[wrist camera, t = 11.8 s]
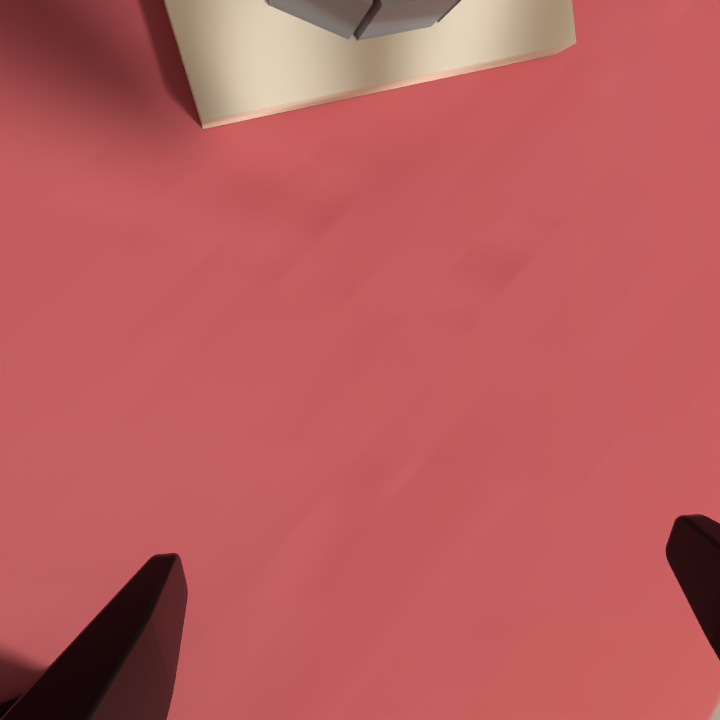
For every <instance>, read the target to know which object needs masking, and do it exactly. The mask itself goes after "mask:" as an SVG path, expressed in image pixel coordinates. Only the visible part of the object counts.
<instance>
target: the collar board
mask: <svg viewBox="0 0 720 720" xmlns="http://www.w3.org/2000/svg"><path fill="white" fill-rule="evenodd" d="M163 1H164V4H165V7H166V11H167V14H168V17H169V20H170V24H171V27H172V30H173V33H174V37H175V40H176V43H177V46H178V50H179V53H180V56H181V59H182V63H183V66H184V69H185V72H186V76H187V79H188V82H189V85H190V89H191V92H192V95H193V98H194V102H195V105H196V108H197V111H198V115H199V118H200V121H201V124H202V128H203V129H205V128H210V127H215V126H220V125H224V124H229V123H234V122H238V121H243V120H248V119H253V118H257V117H262V116H267V115H272V114H276V113H281V112H286V111H290V110H295V109H300V108H305V107H309V106H314V105H319V104H323V103H328V102H333V101H338V100H342V99H347V98H352V97H357V96H361V95H366V94H371V93H375V92H380V91H385V90H390V89H394V88H399V87H404V86H408V85H413V84H418V83H423V82H427V81H432V80H437V79H442V78H446V77H451V76H456V75H460V74H465V73H470V72H475V71H479V70H484V69H489V68H493V67H498V66H503V65H508V64H512V63H517V62H522V61H526V60H531V59H536V58H541V57H545V56H550V55H555V54H556V53H558V52H560V51H562V50H564V49H566V48H568V47H569V46H571V45H573V44H575V43H576V36H575V26H574V16H573V6H572V0H163Z"/></svg>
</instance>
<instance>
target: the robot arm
mask: <svg viewBox="0 0 720 720" xmlns="http://www.w3.org/2000/svg"><path fill="white" fill-rule="evenodd" d="M666 557H667V560H668V562H669V565H670V567H671V569H672V570H673V572H674V574H675V576H676V578H677V580H678V582H679V584H680V586H681V588H682V590H683V592H684V594H685V596H686V598H687V600H688V602H689V604H690V606H691V608H692V610H693V612H694V614H695V616H696V618H697V620H698V622H699V624H700V626H701V628H702V630H703V632H704V634H705V636H706V637H707V639H708V641H709V643H710V645H711V646H712V648H713V650H714V651H715V653H716V655H717V657H718V658H719V660H720V524H719V523H718V522H716V521H714V520H712V519H710V518H708V517H706V516H704V515H700V514H694V515H681V516H679V517H678V518H676V520H675V522H674V524H673V527H672V530H671V533H670V536H669V539H668V542H667V545H666ZM187 595H188V590H187V583H186V579H185V575H184V571H183V567H182V563H181V559H180V557H179V555H178V554H176V553H169V554H157V555H154V556H152V557H151V558H150V559H149V560H148V561H147V562H146V563H145V564H144V565H143V566H142V568H141V569H140V570H139V571H138V572H137V573H136V574H135V575H134V576H133V577H132V578H131V579H130V580H129V581H128V583H127V584H126V585H125V586H124V587H123V588H122V589H121V590H120V591H119V592H118V593H117V594H116V595H115V596H114V598H113V599H112V600H111V601H110V602H109V603H108V604H107V605H106V606H105V607H104V608H103V609H102V610H101V612H100V613H99V614H98V615H97V616H96V617H95V618H94V619H93V620H92V621H91V622H90V623H89V624H88V625H87V627H86V628H85V629H84V630H83V631H82V632H81V633H80V634H79V635H78V636H77V637H76V638H75V639H74V641H73V642H72V643H71V644H70V645H69V646H68V647H67V648H66V649H65V650H64V651H63V652H62V653H61V654H60V656H59V657H58V658H57V659H56V660H55V661H54V662H53V663H52V664H51V665H50V666H49V667H48V668H47V670H46V671H45V672H44V673H43V674H42V675H41V676H40V677H39V678H38V679H37V680H36V681H35V682H34V683H33V685H32V686H31V687H30V688H29V689H28V690H27V691H26V692H25V693H24V694H23V695H22V696H21V697H19V698H16V699H14V700H11V701H9V702H6V703H4V704H1V705H0V720H166V719H167V715H168V712H169V708H170V703H171V699H172V695H173V689H174V683H175V678H176V671H177V664H178V658H179V651H180V644H181V638H182V631H183V624H184V618H185V611H186V604H187Z"/></svg>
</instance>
